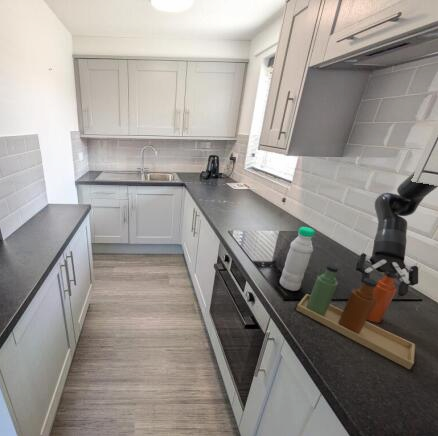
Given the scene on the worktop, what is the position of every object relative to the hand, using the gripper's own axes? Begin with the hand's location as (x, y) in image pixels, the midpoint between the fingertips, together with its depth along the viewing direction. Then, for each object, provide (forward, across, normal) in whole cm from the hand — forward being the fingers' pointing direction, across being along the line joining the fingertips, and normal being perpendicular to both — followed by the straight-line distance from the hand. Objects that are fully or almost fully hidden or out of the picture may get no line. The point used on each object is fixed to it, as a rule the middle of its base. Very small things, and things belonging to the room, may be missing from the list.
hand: (382, 289), depth 74 cm
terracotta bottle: (+8, 0, +8) cm, 11 cm away
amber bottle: (+15, -7, -1) cm, 17 cm away
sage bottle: (+14, -15, +1) cm, 21 cm away
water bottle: (+7, -24, +9) cm, 27 cm away
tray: (+16, -7, 0) cm, 17 cm away
